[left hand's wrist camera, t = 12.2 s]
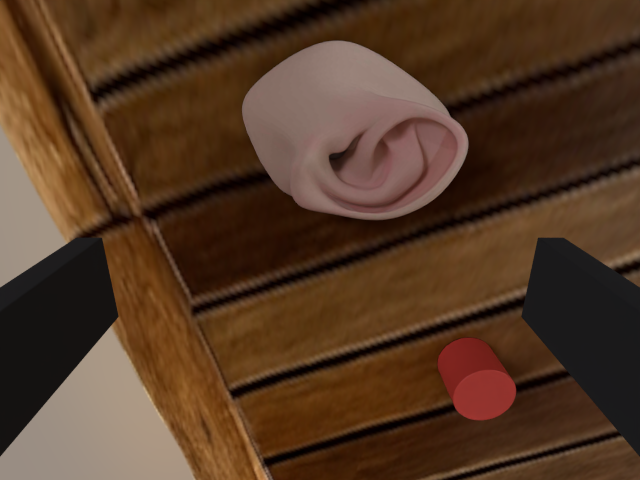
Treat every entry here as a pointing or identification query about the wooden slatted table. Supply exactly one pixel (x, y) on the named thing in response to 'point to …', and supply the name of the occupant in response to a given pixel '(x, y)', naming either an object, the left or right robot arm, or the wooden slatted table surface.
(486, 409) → the red cylinder
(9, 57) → the wooden slatted table surface
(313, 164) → the anatomical model
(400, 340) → the wooden slatted table surface
